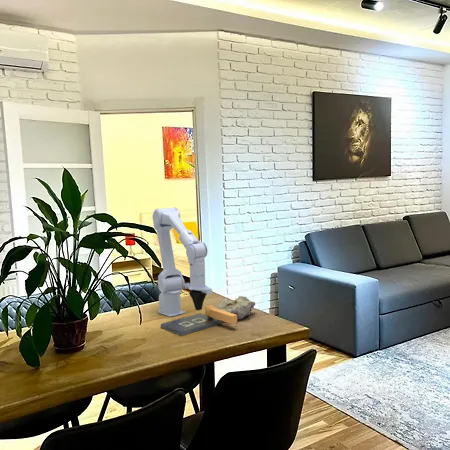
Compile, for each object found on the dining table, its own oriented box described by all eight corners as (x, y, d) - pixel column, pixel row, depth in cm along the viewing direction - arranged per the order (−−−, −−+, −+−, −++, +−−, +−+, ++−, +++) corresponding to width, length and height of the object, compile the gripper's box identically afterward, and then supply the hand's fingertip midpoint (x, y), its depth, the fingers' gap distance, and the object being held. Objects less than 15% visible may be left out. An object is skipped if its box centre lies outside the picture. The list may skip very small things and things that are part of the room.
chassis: (160, 327, 175) (160, 322, 174) (200, 316, 187) (200, 311, 187) (181, 336, 165) (180, 330, 165) (221, 324, 177) (221, 318, 177)
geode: (214, 333, 183) (249, 330, 177) (206, 314, 179) (242, 310, 174) (225, 307, 197) (258, 303, 192) (218, 289, 194) (251, 284, 188)
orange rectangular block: (203, 315, 181) (203, 306, 180) (210, 313, 183) (210, 304, 183) (230, 324, 168) (230, 315, 168) (238, 322, 171) (238, 313, 170)
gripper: (177, 273, 178) (179, 308, 179) (201, 279, 167) (202, 315, 168) (192, 270, 183) (193, 304, 184) (215, 276, 172) (216, 311, 173)
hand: (198, 309), depth 176 cm, fingers closed
